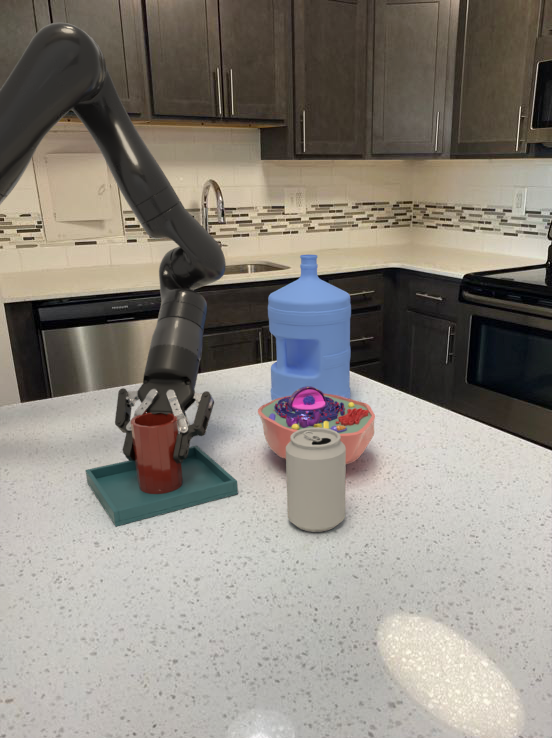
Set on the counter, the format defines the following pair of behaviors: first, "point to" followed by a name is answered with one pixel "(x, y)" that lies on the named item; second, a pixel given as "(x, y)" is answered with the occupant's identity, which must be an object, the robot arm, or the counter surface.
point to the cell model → (317, 420)
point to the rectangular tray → (131, 504)
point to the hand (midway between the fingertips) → (153, 459)
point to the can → (315, 479)
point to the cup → (156, 452)
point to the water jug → (310, 335)
